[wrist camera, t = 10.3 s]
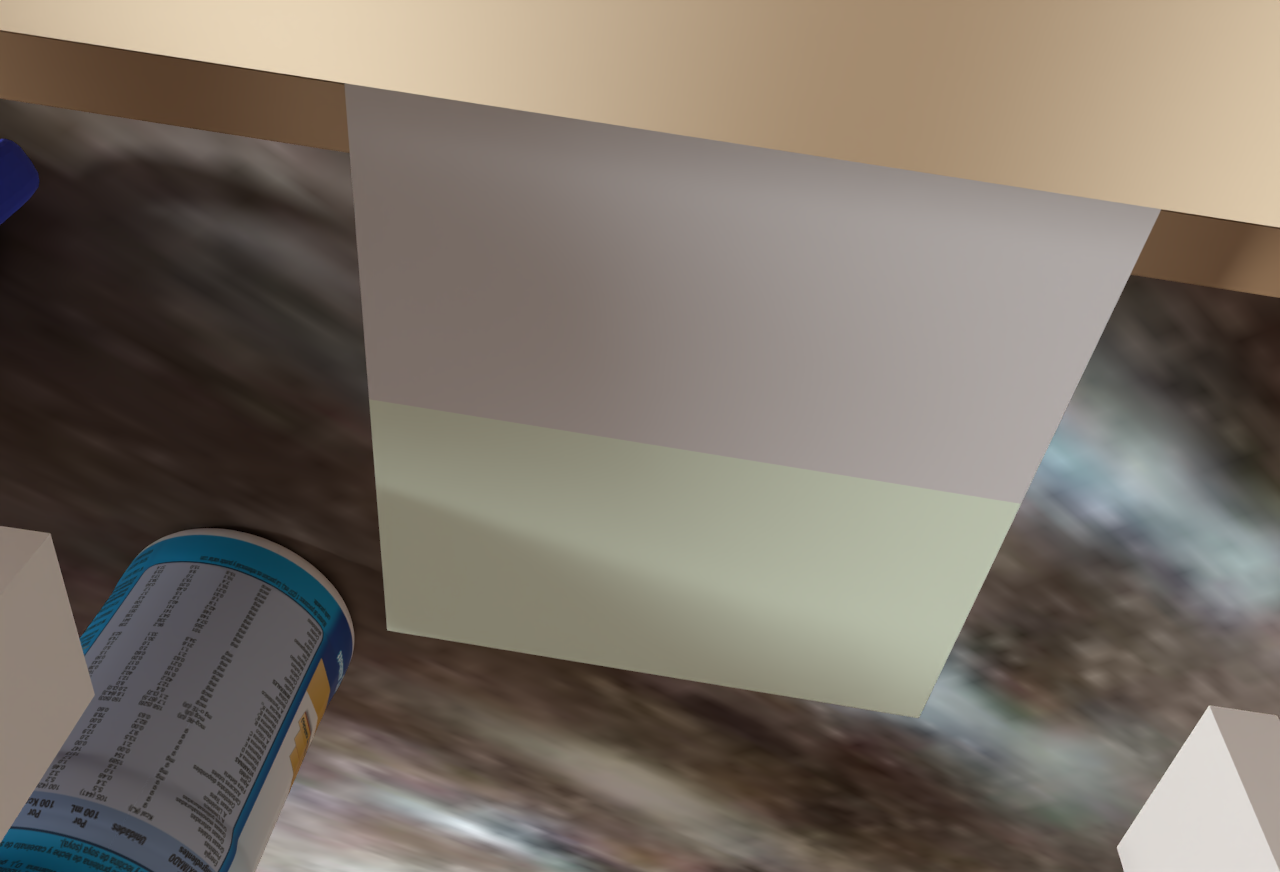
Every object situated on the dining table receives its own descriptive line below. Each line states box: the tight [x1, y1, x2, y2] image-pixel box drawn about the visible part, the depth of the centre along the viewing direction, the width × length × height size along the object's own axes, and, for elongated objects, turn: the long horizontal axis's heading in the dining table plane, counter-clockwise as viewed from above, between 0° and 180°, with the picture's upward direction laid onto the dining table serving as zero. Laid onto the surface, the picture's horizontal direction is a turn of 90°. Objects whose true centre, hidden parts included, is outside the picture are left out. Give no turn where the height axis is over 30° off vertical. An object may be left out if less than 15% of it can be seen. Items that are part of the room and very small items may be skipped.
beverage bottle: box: [0, 528, 354, 872], centre depth 30 cm, size 8×8×20 cm
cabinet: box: [344, 83, 1161, 718], centre depth 18 cm, size 8×11×12 cm
